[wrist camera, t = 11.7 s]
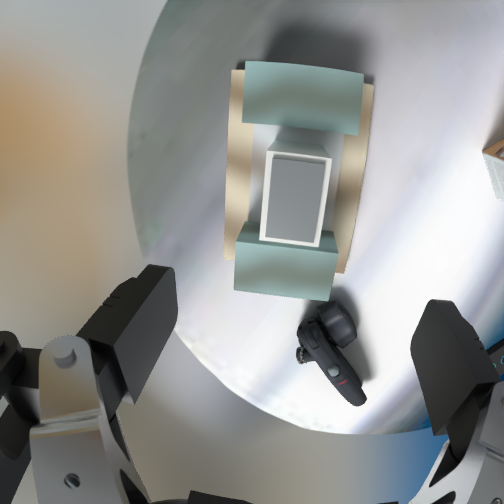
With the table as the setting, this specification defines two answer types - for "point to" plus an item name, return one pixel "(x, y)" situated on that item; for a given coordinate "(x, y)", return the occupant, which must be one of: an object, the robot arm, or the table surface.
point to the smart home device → (497, 357)
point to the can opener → (331, 349)
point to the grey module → (294, 193)
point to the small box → (496, 167)
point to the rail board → (301, 131)
